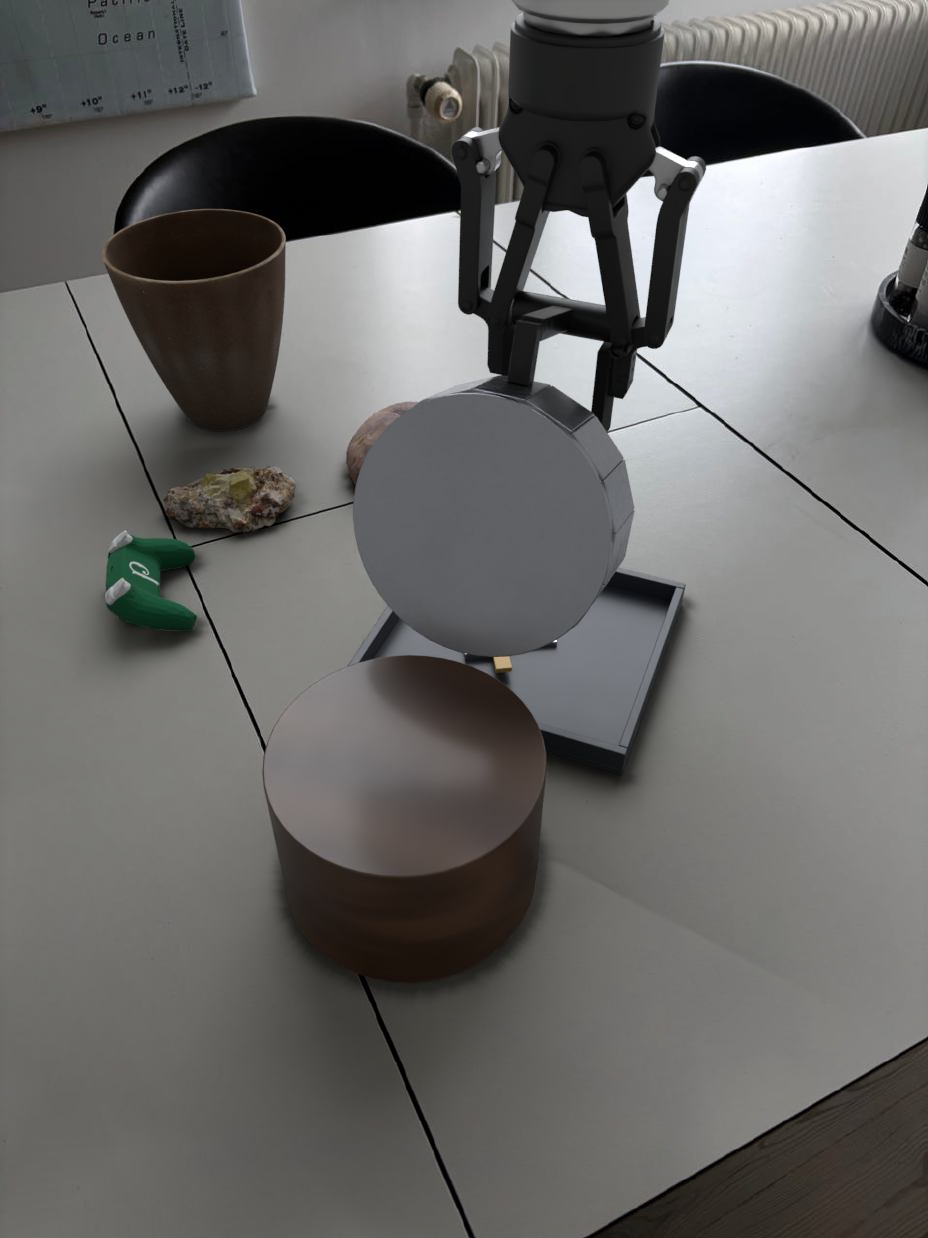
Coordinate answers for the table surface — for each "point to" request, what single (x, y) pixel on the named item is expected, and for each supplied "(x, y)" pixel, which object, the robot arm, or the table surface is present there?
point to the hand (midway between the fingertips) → (554, 426)
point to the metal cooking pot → (497, 501)
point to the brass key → (502, 664)
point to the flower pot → (205, 307)
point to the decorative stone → (371, 435)
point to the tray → (576, 667)
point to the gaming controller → (146, 581)
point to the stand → (407, 815)
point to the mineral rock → (232, 499)
